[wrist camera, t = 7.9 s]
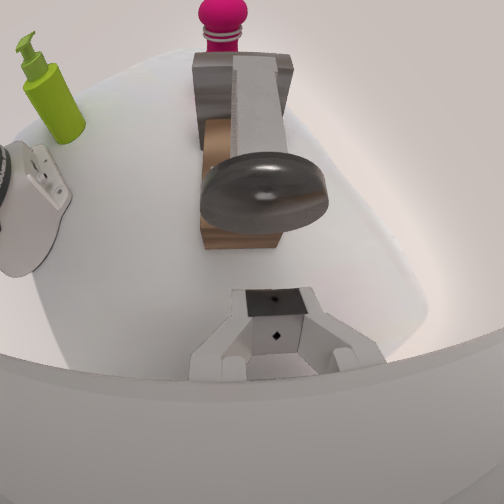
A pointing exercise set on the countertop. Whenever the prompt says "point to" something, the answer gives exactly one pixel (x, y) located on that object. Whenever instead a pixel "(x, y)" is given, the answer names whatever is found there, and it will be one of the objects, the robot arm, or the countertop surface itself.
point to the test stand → (227, 130)
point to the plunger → (260, 163)
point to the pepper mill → (222, 23)
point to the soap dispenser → (50, 94)
